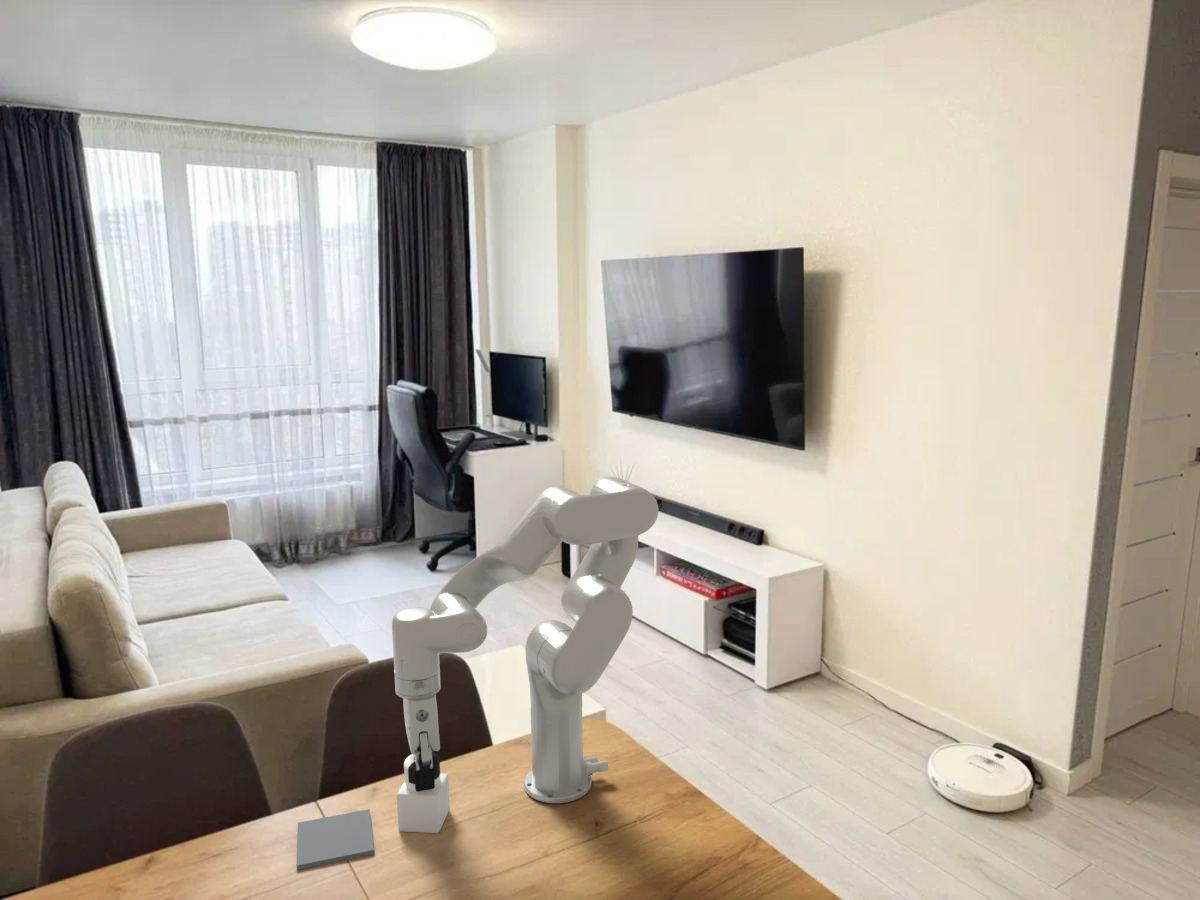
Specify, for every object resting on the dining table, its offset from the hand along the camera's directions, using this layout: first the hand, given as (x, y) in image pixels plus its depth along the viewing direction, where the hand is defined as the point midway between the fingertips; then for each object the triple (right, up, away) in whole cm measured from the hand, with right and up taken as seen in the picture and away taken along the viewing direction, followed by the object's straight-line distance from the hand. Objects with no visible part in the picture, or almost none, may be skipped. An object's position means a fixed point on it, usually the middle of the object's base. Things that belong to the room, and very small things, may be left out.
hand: (422, 778), depth 147 cm
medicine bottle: (0, -8, +1) cm, 8 cm away
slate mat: (-14, -9, -4) cm, 17 cm away
